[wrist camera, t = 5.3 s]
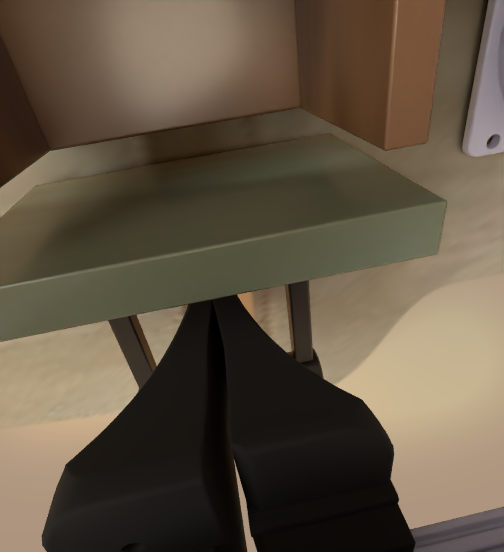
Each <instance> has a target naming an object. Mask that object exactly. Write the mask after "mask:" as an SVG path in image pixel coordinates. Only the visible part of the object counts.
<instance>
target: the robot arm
mask: <svg viewBox="0 0 504 552" xmlns="http://www.w3.org/2000/svg"><path fill="white" fill-rule="evenodd" d="M491 136H493V138H492V141H491V142H490V144H489V145H487V141H488V139H489V138H490V137H491ZM462 149H463V151H464V153H465V154H467V155H469V156H472V157H480V156H486V155H491V154H497V153H502V152H504V0H489V1H488V7H487V12H486V18H485V23H484V29H483V34H482V40H481V45H480V51H479V56H478V62H477V67H476V73H475V78H474V84H473V89H472V95H471V100H470V105H469V111H468V116H467V122H466V127H465V133H464V138H463V144H462ZM393 459H394V448H393V445H392V443H391V441H390V439H389V437H388V435H387V433H386V431H385V430H384V429H383V427H382V426H381V424H380V422H379V421H378V420H377V418H376V417H375V415H374V414H373V413H372V411H371V410H370V409H369V408H368V406H367V405H366V404H365V403H364V401H363V400H362V399H360V398H358V397H356V396H354V395H352V394H350V393H347V392H346V391H344V390H342V389H340V388H338V387H336V386H334V385H333V384H331V383H329V382H328V381H326V380H324V379H323V378H321V377H319V376H318V375H316V374H315V373H314V372H312V371H311V370H309V369H308V368H306V367H305V366H304V365H302V364H301V363H299V362H298V361H297V360H295V359H294V358H293V357H292V356H290V355H289V354H288V353H287V352H285V351H284V350H283V349H282V348H281V347H280V346H279V345H278V344H276V343H275V342H274V341H273V340H272V339H271V338H270V337H269V336H268V335H267V334H266V333H265V331H264V330H263V329H262V328H261V327H260V326H259V325H258V324H257V322H256V321H255V320H254V319H253V318H252V316H251V315H250V314H249V312H248V311H247V310H246V309H245V307H244V306H243V304H242V302H241V301H240V299H239V298H238V296H237V294H236V295H231V296H226V297H221V298H216V299H211V300H206V301H201V302H196V303H192V304H189V305H188V307H187V310H186V312H185V315H184V317H183V320H182V322H181V324H180V326H179V328H178V330H177V332H176V334H175V336H174V338H173V340H172V342H171V344H170V345H169V347H168V349H167V351H166V353H165V354H164V356H163V358H162V359H161V361H160V363H159V364H158V366H157V367H156V369H155V370H154V372H153V373H152V374H151V376H150V377H149V379H148V380H147V381H146V383H145V384H144V385H143V387H142V388H141V389H140V390H139V392H138V393H137V394H136V396H135V397H134V398H133V399H132V400H131V402H130V403H129V404H128V405H127V406H126V407H125V409H124V410H123V411H122V412H121V413H120V414H119V415H118V416H117V417H116V418H115V419H114V420H113V421H112V422H111V423H110V424H109V425H108V427H107V428H105V429H104V430H103V431H102V432H101V433H100V434H99V435H98V436H97V437H96V438H95V439H94V440H93V441H92V442H91V443H89V444H88V445H87V446H86V447H85V448H84V449H83V450H82V451H81V452H79V453H78V454H77V455H76V456H75V457H74V458H73V459H72V460H70V461H69V462H68V463H67V464H66V465H65V468H64V471H63V474H62V476H61V478H60V481H59V483H58V485H57V488H56V491H55V494H54V497H53V500H52V504H51V507H50V510H49V514H48V517H47V521H46V524H45V527H44V530H43V534H42V546H43V547H44V548H45V550H46V551H47V552H247V547H246V540H245V534H244V527H243V520H242V513H241V506H240V499H239V492H238V485H237V478H236V472H235V464H234V460H235V463H236V467H237V470H238V474H239V477H240V481H241V484H242V488H243V491H244V494H245V498H246V502H247V510H248V518H249V526H250V532H251V536H252V537H253V539H254V542H255V546H256V549H257V552H504V507H501V508H497V509H493V510H488V511H484V512H481V513H476V514H472V515H468V516H464V517H460V518H456V519H452V520H448V521H443V522H439V523H435V524H431V525H427V526H423V527H419V528H414V529H409V527H408V525H407V523H406V520H405V518H404V516H403V514H402V512H401V510H400V508H399V505H398V501H399V498H398V494H397V492H396V490H395V488H394V486H393V484H392V482H391V480H390V478H391V471H392V465H393Z"/></svg>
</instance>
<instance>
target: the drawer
mask: <svg viewBox="0 0 504 552" xmlns="http://www.w3.org/2000/svg"><path fill="white" fill-rule="evenodd" d="M445 5H446V0H0V188H1V187H2V186H3V185H5V184H6V183H7V182H9V181H10V180H11V179H13V178H14V177H15V176H17V175H18V174H19V173H21V172H22V171H23V170H25V169H26V168H27V167H29V166H30V165H32V164H33V163H34V162H36V161H37V160H38V159H40V158H41V157H42V156H44V155H45V154H46V153H48V152H49V151H52V150H58V149H64V148H70V147H75V146H81V145H87V144H93V143H99V142H104V141H110V140H116V139H122V138H128V137H134V136H139V135H145V134H151V133H157V132H163V131H168V130H174V129H180V128H186V127H192V126H198V125H203V124H209V123H215V122H221V121H227V120H232V119H238V118H244V117H250V116H256V115H261V114H267V113H273V112H279V111H285V110H291V109H296V108H302V109H304V110H306V111H308V112H310V113H312V114H314V115H316V116H318V117H320V118H322V119H324V120H326V121H328V122H330V123H332V124H334V125H336V126H338V127H340V128H342V129H344V130H346V131H347V132H349V133H351V134H353V135H355V136H357V137H359V138H361V139H363V140H365V141H367V142H369V143H371V144H373V145H375V146H377V147H379V148H381V149H383V150H386V151H387V150H393V149H398V148H404V147H409V146H415V145H420V144H425V143H427V141H428V135H429V128H430V120H431V112H432V105H433V97H434V89H435V82H436V74H437V66H438V59H439V51H440V43H441V36H442V28H443V20H444V13H445ZM446 206H447V201H446V200H444V199H443V198H441V197H439V196H437V195H436V194H434V193H432V192H431V191H429V190H427V189H425V188H424V187H422V186H420V185H419V184H417V183H415V182H413V181H412V180H410V179H408V178H406V177H405V176H403V175H401V174H400V173H398V172H396V171H394V170H393V169H391V168H389V167H388V166H386V165H384V164H382V163H381V162H379V161H377V160H376V159H374V158H372V157H370V156H369V155H367V154H365V153H363V152H362V151H360V150H358V149H357V148H355V147H353V146H351V145H350V144H348V143H346V142H345V141H343V140H341V139H339V138H338V137H336V136H334V135H332V134H324V135H319V136H313V137H307V138H302V139H296V140H290V141H285V142H279V143H273V144H268V145H262V146H257V147H251V148H245V149H240V150H234V151H228V152H223V153H217V154H211V155H206V156H200V157H194V158H189V159H183V160H177V161H172V162H166V163H160V164H155V165H149V166H144V167H138V168H132V169H127V170H121V171H115V172H110V173H104V174H98V175H93V176H87V177H81V178H76V179H70V180H64V181H59V182H53V183H48V184H42V185H36V186H35V187H34V188H33V189H32V190H31V191H29V192H28V193H27V194H26V195H25V196H24V197H23V198H22V199H21V200H20V201H18V202H17V203H16V204H15V205H14V206H13V207H12V208H11V209H10V210H8V211H7V212H6V213H5V214H4V215H3V216H2V217H1V218H0V342H2V341H7V340H12V339H17V338H22V337H27V336H32V335H37V334H42V333H47V332H52V331H57V330H62V329H67V328H72V327H77V326H82V325H87V324H92V323H97V322H102V321H107V320H108V321H109V324H110V326H111V328H112V330H113V332H114V334H115V337H116V339H117V341H118V343H119V345H120V347H121V350H122V352H123V354H124V356H125V358H126V360H127V363H128V365H129V367H130V369H131V371H132V373H133V376H134V378H135V380H136V382H137V384H138V386H139V390H140V389H141V388H142V387H143V385H144V384H145V383H146V381H147V380H148V379H149V377H150V376H151V374H152V373H153V372H154V370H155V369H156V367H157V365H156V363H155V360H154V358H153V355H152V353H151V350H150V348H149V345H148V343H147V340H146V338H145V335H144V333H143V330H142V328H141V325H140V323H139V321H138V318H137V316H136V315H137V314H142V313H147V312H152V311H157V310H162V309H167V308H172V307H177V306H182V305H187V304H192V303H196V302H201V301H206V300H211V299H216V298H221V297H226V296H231V295H236V294H241V293H246V292H251V291H256V290H261V289H266V288H271V287H276V286H281V285H285V289H286V299H287V309H288V319H289V329H290V339H291V349H292V352H287V353H288V354H289V355H290V356H292V357H293V358H294V359H295V360H297V361H298V362H299V363H301V364H302V365H304V366H305V367H306V368H308V369H309V370H311V371H312V372H314V373H315V374H316V375H318V376H319V377H321V378H323V373H322V369H321V365H320V361H319V358H318V356H317V354H316V352H315V350H314V349H313V347H312V330H311V312H310V294H309V280H311V279H316V278H321V277H326V276H331V275H336V274H341V273H346V272H351V271H356V270H361V269H366V268H371V267H376V266H381V265H386V264H391V263H396V262H401V261H406V260H411V259H416V258H421V257H426V256H431V255H436V254H438V252H439V246H440V241H441V235H442V229H443V223H444V218H445V212H446ZM138 392H139V391H138Z"/></svg>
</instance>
